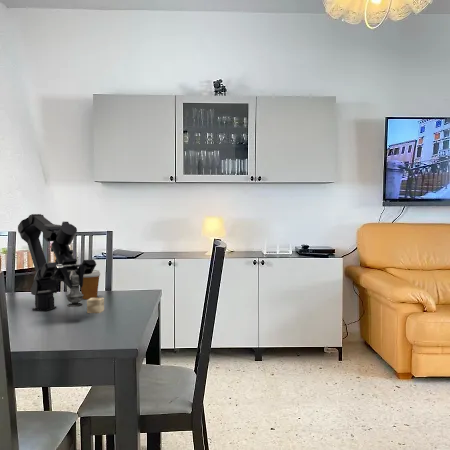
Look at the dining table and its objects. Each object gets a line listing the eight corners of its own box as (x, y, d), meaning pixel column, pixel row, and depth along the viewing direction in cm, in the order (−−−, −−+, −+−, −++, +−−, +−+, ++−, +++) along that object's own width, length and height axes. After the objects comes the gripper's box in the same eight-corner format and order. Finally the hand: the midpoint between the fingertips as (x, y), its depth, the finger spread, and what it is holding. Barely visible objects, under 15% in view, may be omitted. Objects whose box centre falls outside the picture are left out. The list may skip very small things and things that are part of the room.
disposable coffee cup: (97, 300, 201) (96, 272, 200) (75, 300, 201) (75, 272, 200) (103, 296, 210) (102, 269, 210) (82, 296, 210) (82, 269, 210)
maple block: (87, 313, 176) (86, 300, 176) (91, 310, 181) (91, 297, 181) (100, 313, 176) (99, 300, 175) (104, 310, 181) (103, 297, 180)
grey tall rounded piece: (78, 307, 159) (78, 273, 159) (62, 306, 160) (62, 272, 160) (86, 304, 165) (86, 270, 164) (71, 303, 166) (71, 270, 166)
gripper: (80, 265, 180) (93, 297, 172) (31, 269, 167) (43, 304, 159) (89, 246, 174) (103, 279, 166) (39, 249, 161) (52, 284, 153)
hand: (76, 287), depth 161 cm, fingers closed on grey tall rounded piece, 4 cm apart
